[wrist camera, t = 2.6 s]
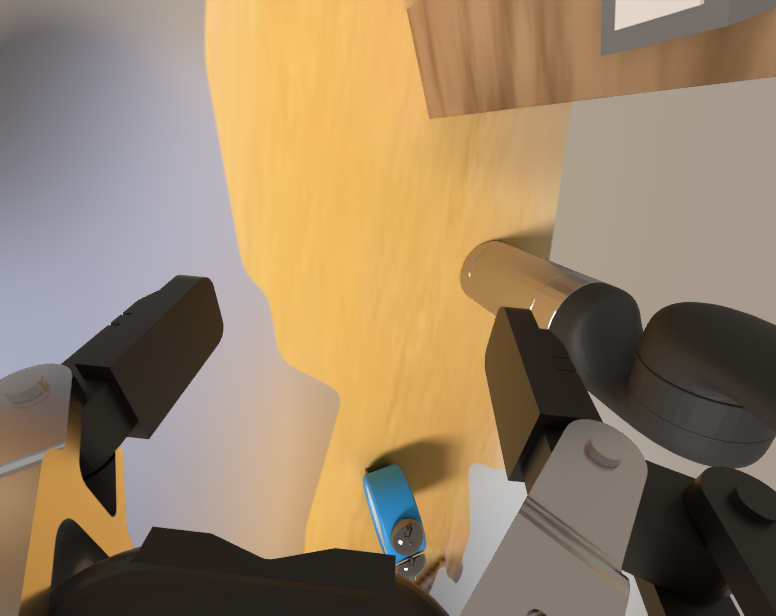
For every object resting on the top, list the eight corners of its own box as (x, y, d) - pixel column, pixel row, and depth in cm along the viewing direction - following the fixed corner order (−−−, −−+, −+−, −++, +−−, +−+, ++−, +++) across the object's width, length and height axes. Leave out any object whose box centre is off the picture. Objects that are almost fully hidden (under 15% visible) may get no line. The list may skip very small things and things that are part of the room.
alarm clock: (357, 458, 58) (389, 546, 46) (392, 445, 60) (432, 527, 47) (367, 507, 64) (397, 597, 52) (398, 494, 66) (435, 579, 53)
